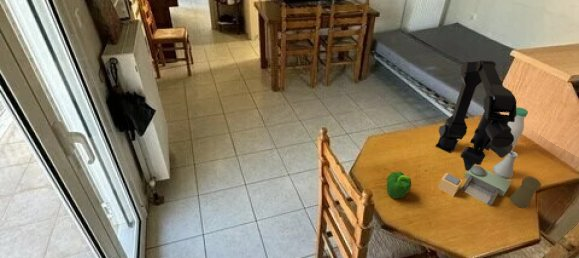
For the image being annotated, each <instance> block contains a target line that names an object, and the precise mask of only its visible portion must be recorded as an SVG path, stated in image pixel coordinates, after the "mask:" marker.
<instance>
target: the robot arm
mask: <svg viewBox="0 0 579 258" xmlns="http://www.w3.org/2000/svg"><path fill="white" fill-rule="evenodd" d="M496 64H497V63H496V62H495V61H494V60H489V59H488V60H487V59H486V60H485V59H480V60H477V61H469V60H468V61H466V62H464V63H463V64H461V67H460V77H461V81H462V85H461V87H460V91H459V93H458V97H457V100H456V103H455V104H454V105H455V106H454V109H453V111H452V115H451V116H450V117H448V118H447V119H445V122H444V124H443V125H441V126H439V127H438V133H439V139H438V142H437V143H436V144H435V147H436V148H438V149H441V150H442V151H444V152H446V153H452V152H453V151H454V150H455V149H456V148H457V145H458V143H459V140H462V139H463V138H464V137H465V136H466V135H467V130H468V125H467V123H466V121H465V120H466V117H467V114H468V111H469V108H470V106H471V103H472V99H473V96H474V94H475V91H476V88H477V87H478V86H479V85H480V84H481V83H482V86H483V89H484V91H485V94H486V95H485V96H484V99H483V107H482V108H483V110H484V111H483V114H482V116H481V119H480V121H479V123H478V125H477V127H476V128H475V130H474V132H473V133H474V134H473V136H472V138H471V139H470V141H469V143H470V144H473V147H472V146H470V145H469V146H466V147H465V148H464V149H463V150H462V152H461V154H460V158H461V159H462V160H463V165H464V170H465V171H466V172H467V171H469V170H470V169H471V168H472V167H473V166H474V165H476V166H481V165H482V163H483V162H484V160H485V158H486V157H487V155H486V153H485V152H484V150H486V151H487V152H488V151H490V150H491V151H492V152H493V153H495V154H496V155H497V156H498V157H499V158H501V159H504V158H506V157H507V155H508V154H509V153H510V152H511V150H512V148H513V147H512V145H513V144H512V143H513V141H514V136H513V134H512V133H511V128H510V127H509V126H508V122H514V121H515V117H516V116H517V114H516V108H517V100H516V97H515V95H514V94H513V92H512V91H511V90H510V89H508V88H507V87H505V86H504V85H503V83H502V80H501V77H500V75H499V73H498V71H497V68H496V66H497V65H496ZM502 113H505V114H502ZM507 113H508V114H507ZM513 149H514V148H513ZM512 151H513V150H512Z"/></svg>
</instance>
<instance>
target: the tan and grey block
mask: <svg viewBox="0 0 579 258" xmlns="http://www.w3.org/2000/svg"><path fill="white" fill-rule="evenodd" d="M462 182H463V180H462V179H460V178H458V177H456V176H454V175H453V174H451V173H448V172H445V173H444V175H443V176H442V177H441V178H440V181H439V184H438V186H437V189H438V190H440V191H442V192H445V193H446V194H448V195H450V196H452V197H454V196H455V195H456V194H457V192H458V191H459V189H460V187H461V185H462Z"/></svg>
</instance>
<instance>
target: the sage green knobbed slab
mask: <svg viewBox="0 0 579 258" xmlns="http://www.w3.org/2000/svg"><path fill="white" fill-rule="evenodd" d="M470 175H472V176H474V177H476V178H478V179H480V180H482V181H484V182H486V183H489V184H491V185H493V186H495V187H497V188H499V189H500V191H499V193H498V194H497V195H500V196H501V197H504V195H505V194H506V192H507V190H508V189H509V187H510V185H511V183H512V181H511V180H508V178H503V177H500V176H498V175H496V174H495V173H493V172H492V171H489V170H487V169H485V168H483V167H482V166H481V165H477V164H475V165H474V166H473V167H472V168H471V169H470V170H469V171H467V170H466V172H465V174H464V176H463V178H465V179H466V180H468V178H469V177H470Z"/></svg>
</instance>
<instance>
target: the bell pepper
mask: <svg viewBox="0 0 579 258" xmlns="http://www.w3.org/2000/svg"><path fill="white" fill-rule="evenodd" d="M404 174H405V173H403V172H402V171H394V172H391V173H390V174H388V176H387V179H386V193H387V195H389V197H390V198H393V199H398V198H400V199H401V198H404V197H405V196H406V195H407V194H408V192H409V191H410V189H411V187H412V179H411V178H410V177H409V176H407V175H406V174H405V175H404Z"/></svg>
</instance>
